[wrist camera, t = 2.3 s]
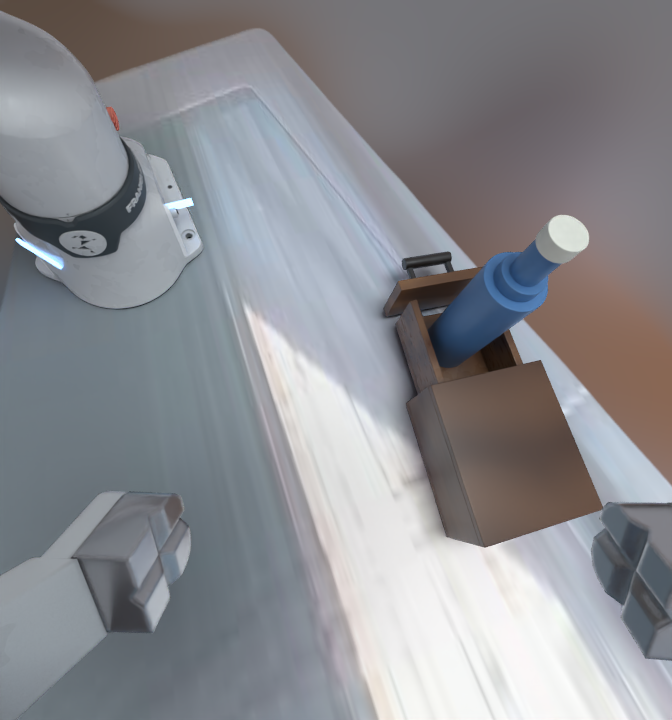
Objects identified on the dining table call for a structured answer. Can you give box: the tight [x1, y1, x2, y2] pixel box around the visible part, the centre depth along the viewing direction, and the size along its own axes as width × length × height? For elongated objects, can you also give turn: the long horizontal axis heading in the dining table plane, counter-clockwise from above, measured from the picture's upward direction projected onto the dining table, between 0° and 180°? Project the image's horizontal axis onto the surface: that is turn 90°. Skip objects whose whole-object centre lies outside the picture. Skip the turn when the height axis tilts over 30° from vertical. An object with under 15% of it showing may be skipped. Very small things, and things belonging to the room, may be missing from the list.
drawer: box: [384, 252, 523, 394], centre depth 46 cm, size 18×11×7 cm, turn 15°
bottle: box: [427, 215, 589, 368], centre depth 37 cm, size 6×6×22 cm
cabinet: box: [406, 360, 603, 547], centre depth 42 cm, size 15×13×9 cm
